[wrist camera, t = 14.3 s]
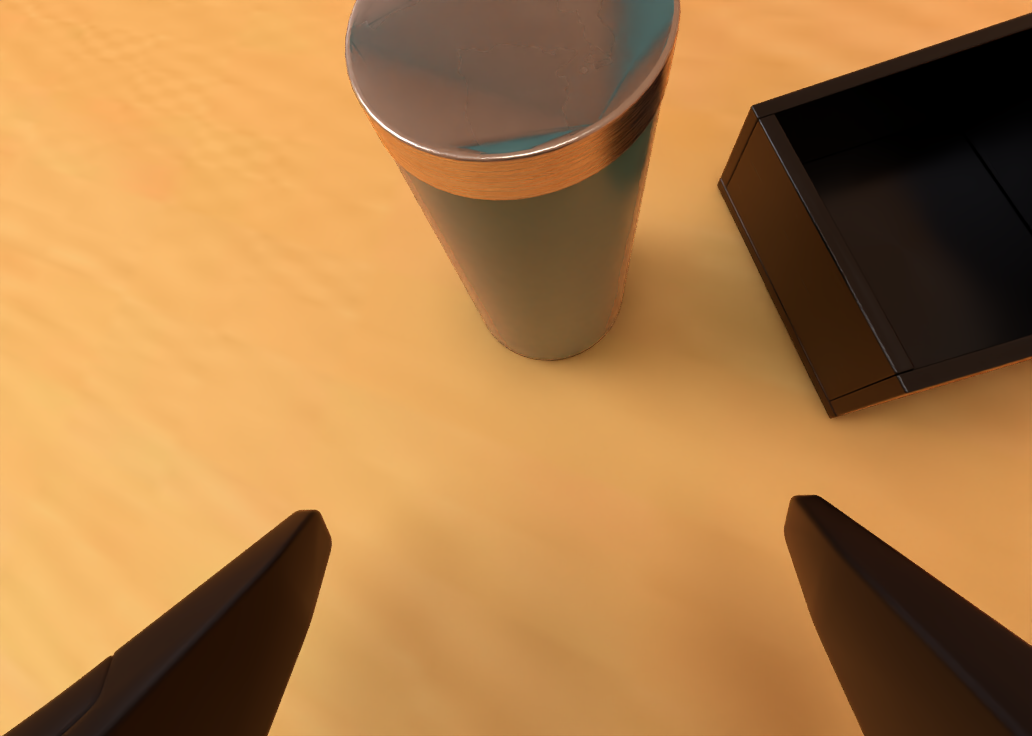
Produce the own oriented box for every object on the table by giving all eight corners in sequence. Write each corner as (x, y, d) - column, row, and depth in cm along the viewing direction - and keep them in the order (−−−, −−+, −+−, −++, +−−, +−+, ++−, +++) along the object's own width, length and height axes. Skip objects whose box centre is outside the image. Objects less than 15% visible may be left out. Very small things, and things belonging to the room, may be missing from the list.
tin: (644, 335, 20) (739, 86, 8) (498, 380, 20) (377, 208, 8) (596, 208, 22) (612, -150, 10) (463, 252, 22) (320, -43, 10)
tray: (1106, 336, 18) (1277, 284, 13) (829, 419, 18) (906, 393, 14) (949, 109, 21) (1045, 6, 16) (716, 185, 21) (750, 105, 17)
